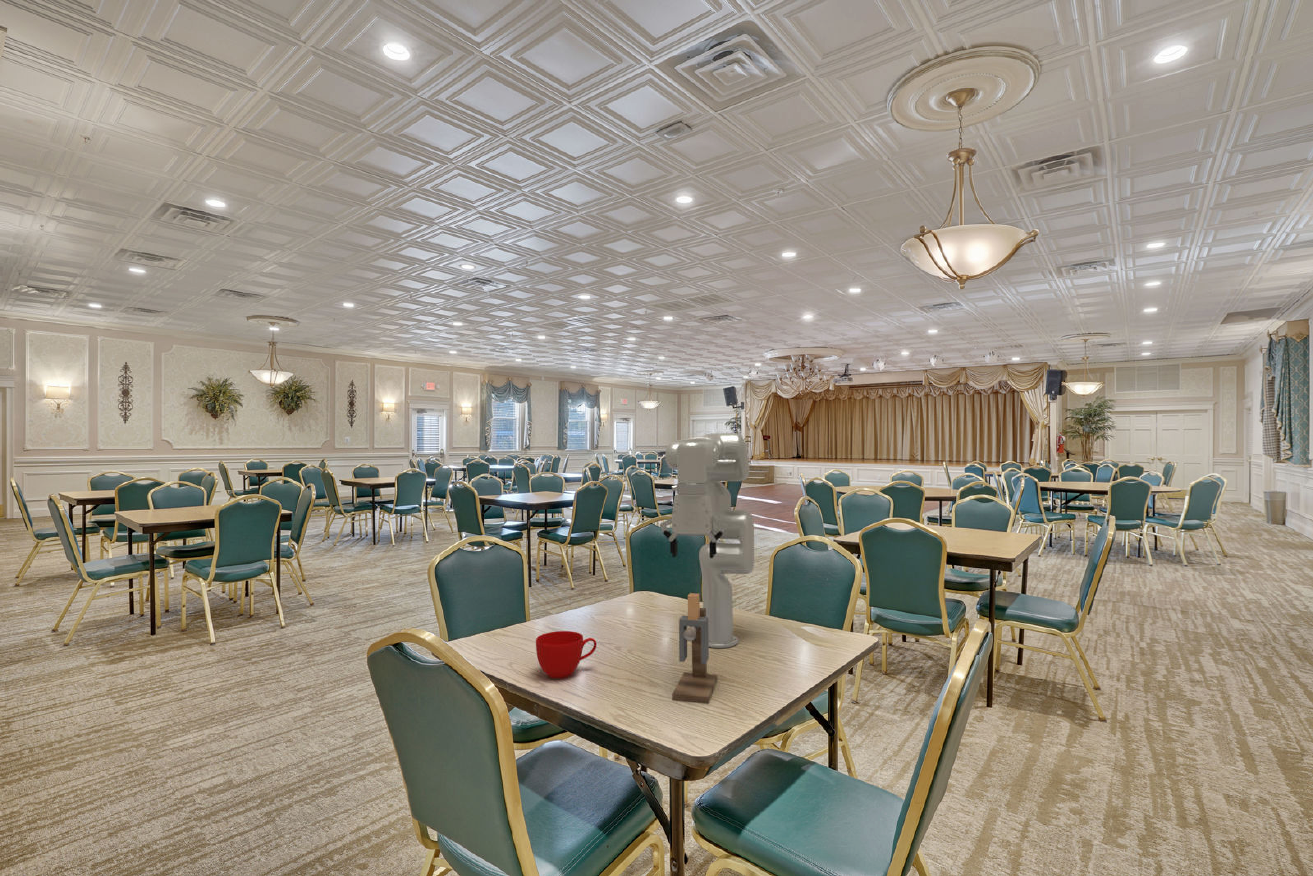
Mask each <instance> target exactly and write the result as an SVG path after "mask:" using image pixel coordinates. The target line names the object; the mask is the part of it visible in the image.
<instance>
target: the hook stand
mask: <svg viewBox="0 0 1313 876" xmlns="http://www.w3.org/2000/svg"><path fill="white" fill-rule="evenodd" d="M700 617H706V608H703V607H700ZM684 638H685V639H686V640H687V642H691V671H692V672H688V671H684V672H683V673H682V675H681V677H680V679H679V681H678V683H677V684H676V686H675V688H674V690H673V692H672V694H671V700H672V701H677V702H690V703H699V704H701V703H702V704H709V703H710V700H711V699H712V695H713V694H714V690H715V687H716V686H717V683H718V674H714V673H708V671H707V669H708V668H707V666H708V662H707V663H706V664H702V663H701V627H693V626H689V628H688V627H687V629H686V630H685V632H684Z"/></svg>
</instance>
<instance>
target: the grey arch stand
mask: <svg viewBox="0 0 1313 876" xmlns="http://www.w3.org/2000/svg"><path fill="white" fill-rule="evenodd" d="M700 595H701V594H700V593H697V592H696V593H694V592H689V594H688V595H687V615H684V614H683V615H681V617H680V618H679V620H678V632H679V633H678V634H679V635H678V638H679V640H678V645H679V646H678V655H679V656H678V657H679V659H678V661H679V662H680V663H684V662H685V661H686V659H687V658H688V641H687V640H686V639H685V638H684V632H685V630H686V629H688V627H690V626H693V627H701V663H702V664H706V663H707V664H708V661H709V658H710V657H709V656H710V655H709V652H710V651H709V648H710V647H709V642H708V617H700V608H701V606H700V601H701V599H700V597H701V596H700Z"/></svg>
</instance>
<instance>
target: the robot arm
mask: <svg viewBox="0 0 1313 876" xmlns="http://www.w3.org/2000/svg"><path fill="white" fill-rule="evenodd" d="M664 456H665V462H666V466H668V467H669V468H670V469H671V470H677V483H676V484H675V485H672V486H671V490H672V491H673V492H676V493H677V494H675V495H674V496H673V497H674V498H673V504H672V514H671V515H672V516H671V517H670V518H669V519H666V520H665V521H662V522H661V523H659V528H660V530H661V531H662V533H663V535H664V537H665V538H667V539H668V541H669V542H670V543H669V548H670V554H672V555H671V556H672V557H673V558H676V557H677V556H678V549H679V548H678V540H677V537H678V536H707V538H708V539H709V540H710V541H709V542H708V543H705V544H704V545H702V546H701V547H700V550H699V554H698V557H699V558H698V559H699V565H700V571H701V580H702V583H701V584H702V585H701V586H702V608H706V617H708V642H709V648H715V649H716V648H717V649H724V648H731V647H734V646H736V645H738V643H739V639H738V637H737V636H736V635H734V625H733V623H734V622H733V621H734V618H733V616H734V615H733V587H732V584H731V582H730V581H729V579H728V577H726V575H727V574H730V575H731V574H734V575H735V574H736V575H747V574H751V573H752V571H754V570H753V569H754V568H755V567H754V566H755V525H754V518H753V515H752V513H751V512H750V511H748V510H745V509H732V496H731V493H730V491H729V489H728V488H727V487H726V486H725V485H724V483H722V482H743V481H745V480H747V478H748V477H749V476H750V475H749V474H750V463H749V462H750V461H749V457H748V450H747V445H746V442H745V440H744V438H743V436H742V435H741V434H739V433H737V432H726V433H725V432H722V433H720V432H719V433H717V432H715V433H714V432H713V433H707V434H704V435H702V436H695V437H690V438H685V439H677V440H673V441H671V442H669V444H668V445H667V446H666V450H665V455H664ZM670 525H671V531H672V532H670V530H669V529H668V526H670ZM718 540H738V541H739V543H730V542H717V541H718Z"/></svg>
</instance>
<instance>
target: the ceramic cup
mask: <svg viewBox="0 0 1313 876" xmlns="http://www.w3.org/2000/svg"><path fill="white" fill-rule="evenodd" d="M589 642H593V647H592V648H591V649H590V651H589V652H587V653H586V654H584V655H582V654H583V649H584V647H585V645H586V644H587V643H589ZM596 649H597V640H595V639H594V638H593V637H587V638H585V639H584V636H583V634H581V633H580V632H576V631H572V630H571V631H569V630H558V631H550V632H546V633H542V634H541V635H538V636H537V637H536V639H535V651H536V656H537V657H536V658H537V661H538V665H539V666H540V668H541V670H542V671H543V672H544V673H545V675H547V677H548V676H549V677H548V678H550V677H551V679H555V678H560V679H565V677H566V678H568V676H569V677H570V676H572V674H573V673H574V671H575V670H576V669H577V667H578V666H579V664H580V662H581V661H582V660H584V659H586V658H589V657H590V656H591V655H592V654H594V652H595V651H596Z"/></svg>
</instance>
